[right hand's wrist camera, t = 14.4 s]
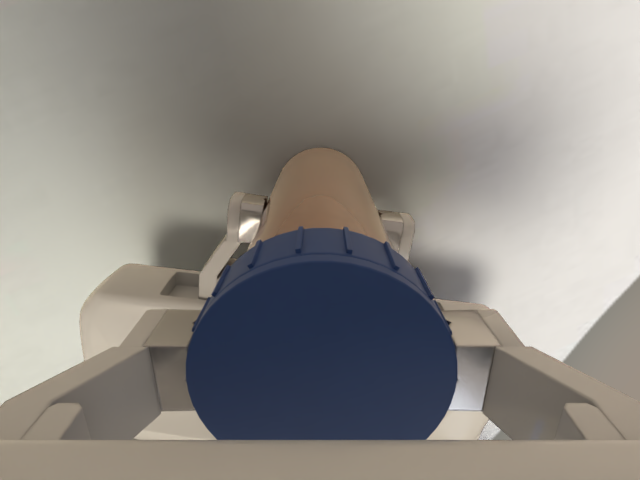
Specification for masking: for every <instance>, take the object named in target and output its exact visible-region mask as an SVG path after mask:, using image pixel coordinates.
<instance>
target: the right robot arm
mask: <svg viewBox="0 0 640 480" xmlns="http://www.w3.org/2000/svg"><path fill="white" fill-rule="evenodd" d="M200 312H201V310H179V309H170V310H169V309H150V310H147V311H146V312H145V313H144V315H143V316H142V317H141V319H140V320H139V321H138V322H137V324H136V325H135V326H134V328H133V329H132V330H131V332H130V333H129V334H128V336H127V337H126V338H125V339H124V341H123V342H122V343H121V345H120V346H119V347H111V348H109V349H107V350H105V351H103V352H101V353H99V354H97V355H95V356H93V357H91V358H90V359H88V360H86V361H84V362H82V363H80V364H78V365H76V366H74V367H72V368H70V369H68V370H66V371H64V372H62V373H60V374H58V375H56V376H54V377H52V378H50V379H48V380H46V381H44V382H42V383H40V384H38V385H36V386H34V387H32V388H31V389H29V390H27V391H25V392H23V393H21V394H19V395H17V396H15V397H13V398H11V399H9V400H7V401H5V402H4V403H3V404H2V405H1V406H0V480H640V401H638V400H636V399H634V398H632V397H630V396H628V395H626V394H624V393H622V392H620V391H618V390H616V389H614V388H612V387H610V386H608V385H606V384H604V383H602V382H600V381H598V380H596V379H594V378H592V377H590V376H588V375H586V374H585V373H582V372H581V371H578V370H577V369H575V368H573V367H571V366H569V365H567V364H565V363H563V362H561V361H559V360H557V359H555V358H553V357H551V356H549V355H547V354H545V353H543V352H541V351H539V350H537V349H535V348H533V347H525V346H524V345H523V343H522V342H521V341H520V339H519V338H518V337H517V336H516V334H515V333H514V332H513V331H512V329H511V328H510V327H509V325H508V324H507V323H506V322H505V320H504V319H503V318H502V316H501V315H500V314H499V313H498V311H496V310H494V309H477V310H441V312H442V313H443V315H444V317H445V319H446V321H447V323H448V325H449V327H450V329H451V331H452V335H451V337H452V340H453V343H454V345H455V350H456V356H457V368H458V376H457V382H456V389H455V393H454V396H453V399H452V402H451V405H450V407H449V409H448V411H479V412H483V414H484V415H485V416H486V417H487V418H488V419H490V420H491V421H492V422H493V423H494V424H495V425H496V426H497V427H499V428H500V429H501V430H502V431H503V432H504V433H505V434H506V435H508V436H509V437H510V438H511V439H512V440H132V439H133V438H134V437H136V436H137V435H138V434H139V433H140V432H141V431H142V430H143V429H145V428H146V427H147V426H148V425H149V424H150V423H151V422H152V421H153V420H155V419H156V418H157V417H158V416H159V415H160V414H161V412H165V411H196V410H195V409H194V407H193V404H192V401H191V398H190V395H189V392H188V387H187V381H186V357H187V351H188V346H189V344H190V341H191V338H192V335H193V332H192V328H193V326H194V324H195V322H196V320H197V318H198V316H199V314H200Z"/></svg>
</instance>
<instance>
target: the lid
mask: <svg viewBox="0 0 640 480" xmlns="http://www.w3.org/2000/svg"><path fill="white" fill-rule="evenodd" d="M211 295H212V296H211V297H208V299H207V300H206V302H205V304H204V306H203V308H202V310H201V312H200V314H199V316H198V318H197V320H196V322H195V324H194V326H193V328H192V332H193V335H192V338H191V341H190V344H189V346H188V351H187V357H186V381H187V387H188V392H189V395H190V398H191V401H192V404H193V407H194V409H195V410H196V412H197V414H198V416H199V418H200V420H201V421H202V422H203V424H204V425H205V427H206V428H207V429H208V431H209V432H210V433H211V434H212V435H213V436H214V437H215V438H216V439H217V440H426V439H427V438H428V437H429V436H430V435H431V434H432V433H433V432H434V431H435V429H436V428H437V427H438V425H439V424H440V423H441V421H442V420H443V418H444V417H445V415H446V413H447V411H448V409H449V407H450V405H451V402H452V399H453V396H454V393H455V389H456V382H457V376H458V368H457V356H456V350H455V345H454V343H453V340H452V337H451V335H452V331H451V329H450V327H449V325H448V323H447V321H446V319H445V317H444V315H443V313H442V312H441V310H440V308H439V306H438V304H437V302H436V300H433V299H434V296H433V294H432V292H431V290H430V288H429V286H428V284H427V282H426V280H425V279H424V277H423V275H422V273H421V271H420V269H419V268H418V267H417V268H415V269H414V267H413V266H412V265H411V264H410V263H409V262H408V261H407V260H406V259H405V258H404V257H403V256H402V255H400V254H399V253H397V252H396V251H395V250H393V249H392V248H391V246H390V243H388V242H387V241H385V243H382V242H380V241H378V240H376V239H374V238H371V237H368V236H366V235H363V234H360V233H356V232H352V231H349V228H348V227H344V228H343V229H334V228H309V229H304V228H303V226H300V227H298V230H295V231H291V232H287V233H283V234H279V235H277V236H274V237H272V238H270V239H267V240H265V241H263V242H262V241H261V239H260V240H258V241H257V242H256V245H255V246H254V247H252V248H251V249H249V250H248V251H247V252H245V253H244V254H243V255H242V256H240V257H239V258H238V259H237V260H236V261H235V262H234V263H233V264H232V265H231V266H229V265H228V264H227V266H226V267H225V268H224V270H223V272H222V274H221V276H220V278H219V280H218V282H217V284H216V286H215V288H214V290H213V292H212V294H211Z"/></svg>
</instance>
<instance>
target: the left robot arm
mask: <svg viewBox="0 0 640 480" xmlns="http://www.w3.org/2000/svg"><path fill="white" fill-rule="evenodd" d="M267 203H268V196H262V195H255V194H248V193H242V192H235V193H234V194H233V195H232V197H231V198H230V201H229V206H228V217H227V234H226V235H225V237H224V238H223V239H222V241H221V242H220V244H219V245H218V246H217V248H216V249H215V251H214V252H213V253H212V255H211V256H210V258H209V259H208V261H207V263H206V264H205V266H204V267H203V269H202V271H193V270H184V269H175V268H167V267H158V266H149V265H142V264H125V265H123V266H121V267H120V268H119V269H117V270H116V271H115V272H114V273H112V274H111V275H110V276H109V277H107V278H106V279H105V280H104V281H103V282H102V283H101V284H100V285H99V286H98V287H97V288H96V289H95V290H94V291H93V292H92V293H91V294H90V295H89V297H88V298H87V299H86V301H85V302H84V304H83V306H82V308H81V311H80V321H79V323H80V335H81V343H82V350H83V356H84V361H86V360H88V359H90V358H91V357H93V356H95V355H97V354H99V353H101V352H103V351H105V350H107V349H109V348H111V347H119V346H120V345H121V343H122V342H123V341H124V339H125V338H126V337H127V336H128V334H129V333H130V332H131V330H132V329H133V328H134V326H135V325H136V324H137V322H138V321H139V320H140V319H141V317H142V316H143V315H144V313H145V312H146V311H147V310H150V309H169V310H170V309H179V310H202V308H203V306H204V304H205V302H206V300H207V299H208V297H211V296H212V295H211V294H212V292H213V290H214V288H215V286H216V284H217V282H218V280H219V278H220V276H221V274H222V272H223V270H224V268H225V267H226V266H227V264H228V265H229V266H231V265H232V264H233V263H234V262H235V261H236V260H237V259H235V258H231V257H232V255H233V254H234V252H235V251H236V250H237V248H238V247H239V246H240V244H241V243H242V242H243V243H250V242H251V240H252V238H253V235H254V233H255V231H256V228H257V226H258V224H259V221H260V219H261V217H262V214H263V212H264V210H265V207H266V205H267ZM378 213H379V215H380V217H381V220H382V222H383V224H384V226H385V229H386V231H387V233H388V235H389V238H390V240H391V242H392V245H393V247H394V249H395V251H396V252H397V253H399V254H400V255H402V256H403V257H404V258H405V259H406V260H407V261H408V262H409V263H410V261H409V259H408V258H409V254H410V249H411V245H412V241H413V236H414V232H415V222H414V220H413V218H412V217H411V215H410V214H408V213H400V212H392V211H383V210H378ZM410 264H411V263H410ZM433 300H436V302H437V304H438V306H439V308H440V310H477V309H489V308H488V307H487V306H485V305H482V304H477V303H468V302H460V301H451V300H442V299H433ZM488 420H489V419H488V418H487V417H486V416H485V415H484V414H483V412H479V411H447V413H446V415H445V417H444V418H443V420H442V421H441V423H440V424H439V425H438V427H437V428H436V429H435V431H434V432H433V433H432V434H431V435H430V436H429V437H428V438H427V439H426V440H478V439H479V437H480V434H481V432H482V429H483V428H484V426H485V425H486V423H487V422H488ZM132 440H217V439H216V438H215V437H214V436H213V435H212V434H211V433H210V432H209V431H208V429H207V428H206V427H205V425H204V424H203V422H202V421H201V420H200V418H199V416H198V414H197V412H196V411H165V412H161V414H160V415H159V416H158V417H157V418H156V419H155V420H153V421H152V422H151V423H150V424H149V425H148V426H147V427H146V428H145V429H143V430H142V431H141V432H140V433H139V434H138V435H137V436H136V437H134V438H133V439H132Z"/></svg>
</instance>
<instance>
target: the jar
mask: <svg viewBox="0 0 640 480" xmlns="http://www.w3.org/2000/svg"><path fill="white" fill-rule="evenodd" d="M300 226H303V228H304V229H309V228H334V229H343V228H344V227H348V228H349V231H352V232H356V233H360V234H363V235H366V236H368V237H371V238H374V239H376V240H378V241H380V242H382V243H385V241H387V242H388V243H390V246H391V248H392V249H393V250H395V249H394V247H393V245H392V242H391V240H390V238H389V235H388V233H387V231H386V229H385V226H384V224H383V222H382V220H381V217H380V215H379V213H378V211H377V208H376V206H375V204H374V202H373V199H372V197H371V195H370V192H369V190H368V188H367V186H366V183H365V181H364V179H363V177H362V174H361V172H360V170H359V169H358V167H357V166H356V164H355V163H354V162H353V161H352V160H351V159H350V158H349V157H347V156H346V155H345V154H343V153H341V152H339V151H337V150H334V149H330V148H311V149H308V150H305V151H302V152H300V153H298V154H297V155H295V156H294V157H292V158H291V159H290V160H289V161H288V162H287V163H286V164H285V166H284V167H283V169H282V171H281V172H280V175H279V177H278V179H277V182H276V184H275V186H274V189H273V191H272V193H271V196H270V198H269V200H268V203H267V205H266V207H265V210H264V212H263V214H262V217H261V219H260V221H259V224H258V226H257V228H256V231H255V233H254V235H253V238H252V240H251V242H250V245H249V247H248V249H247V251H248V250H249V249H251V248H252V247H254V246H255V245H256V242H257V241H258V240H260V239H261V241H262V242H263V241H265V240H267V239H270V238H272V237H274V236H277V235H279V234H283V233H287V232H291V231H295V230H298V227H300Z"/></svg>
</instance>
